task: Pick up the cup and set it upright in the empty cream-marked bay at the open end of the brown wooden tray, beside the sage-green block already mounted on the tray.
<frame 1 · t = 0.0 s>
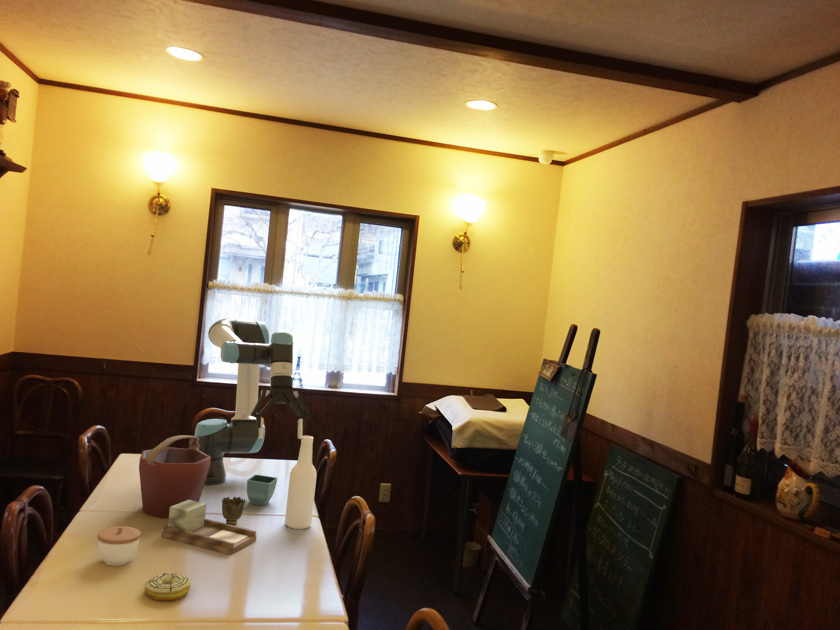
hand: (280, 438, 227), 28 cm above the table, tool tilted 20°, fingers open, 13 cm apart
decorated donut: (166, 594, 167), on the table
bucket: (170, 511, 225), on the table
brown wooden tray: (209, 538, 205), on the table
alcohol: (297, 525, 225), on the table
lidded jar: (116, 561, 182), on the table
flower pot: (259, 503, 243), on the table
cup: (231, 524, 219), on the table
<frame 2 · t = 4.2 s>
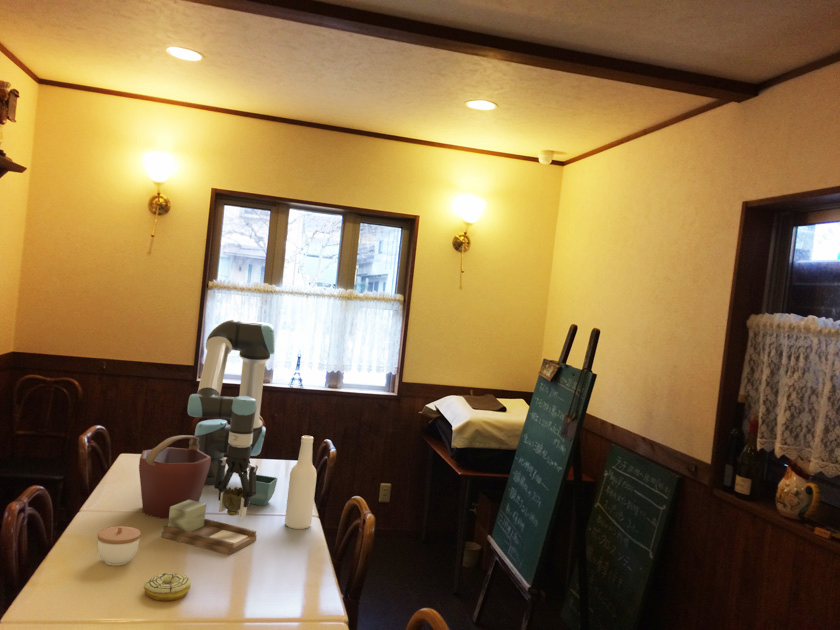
hand: (232, 513, 219), 3 cm above the table, tool pointing down, fingers closed on cup, 7 cm apart
cup: (232, 514, 220), point 3 cm above the table, touching gripper
everything else where it was.
when the fingers open (3 cm above the table, at t = 8.3 s): cup stays where it is, resting on brown wooden tray.
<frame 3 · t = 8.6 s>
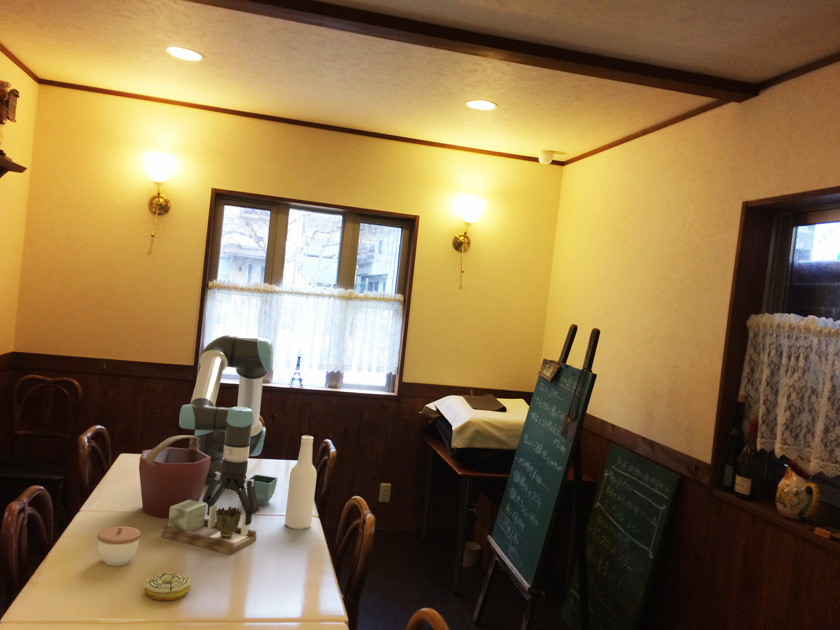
hand: (227, 530, 203), 4 cm above the table, tool pointing down, fingers open, 11 cm apart
cup: (226, 537, 203), point 2 cm above the table, touching brown wooden tray
everything else where it was.
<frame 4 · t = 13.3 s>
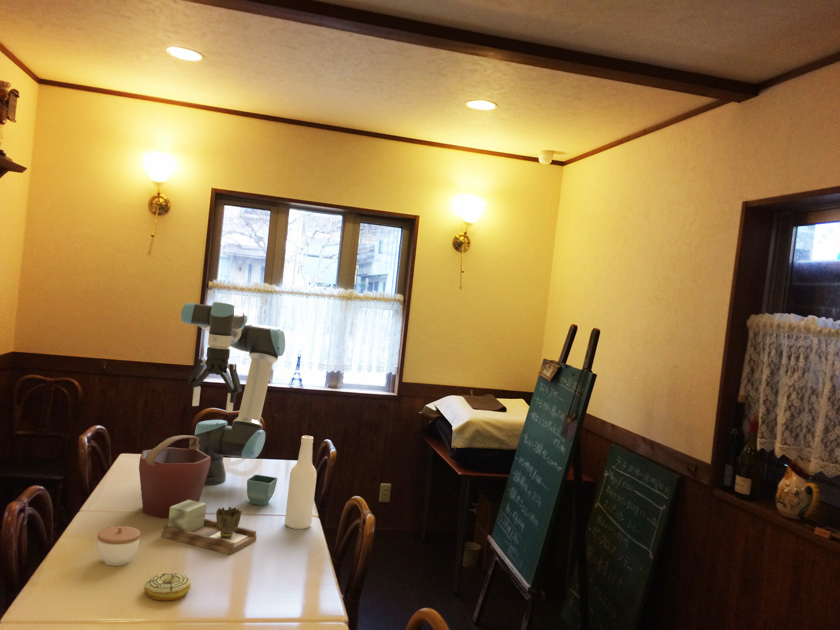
hand: (212, 408, 229), 35 cm above the table, tool pointing down, fingers open, 13 cm apart
nothing on the table moved.
at the end: cup 0.5 cm from the target spot on the brown wooden tray, point 1.5 cm above the brown wooden tray's base; cup tilted 0°; the gripper is holding nothing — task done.
